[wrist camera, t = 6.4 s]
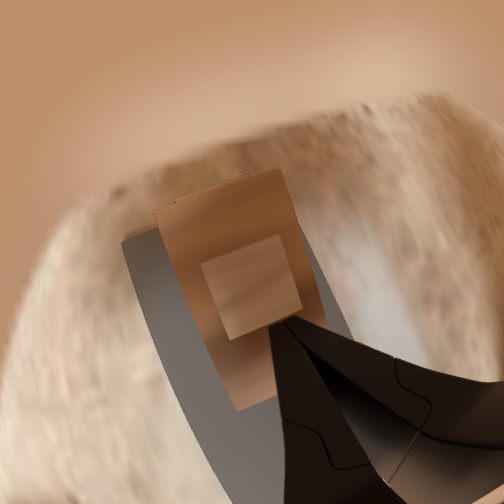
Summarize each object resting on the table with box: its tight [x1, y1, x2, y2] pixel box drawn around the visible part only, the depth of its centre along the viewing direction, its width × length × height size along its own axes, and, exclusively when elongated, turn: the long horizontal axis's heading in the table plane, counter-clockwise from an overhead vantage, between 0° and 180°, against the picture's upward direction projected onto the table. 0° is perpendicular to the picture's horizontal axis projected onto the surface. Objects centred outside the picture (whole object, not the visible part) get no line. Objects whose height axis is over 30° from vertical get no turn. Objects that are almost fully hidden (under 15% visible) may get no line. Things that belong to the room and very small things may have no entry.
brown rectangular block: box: [153, 169, 329, 412], centre depth 13 cm, size 5×5×8 cm
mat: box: [121, 226, 383, 504], centre depth 16 cm, size 20×10×1 cm, turn 23°
